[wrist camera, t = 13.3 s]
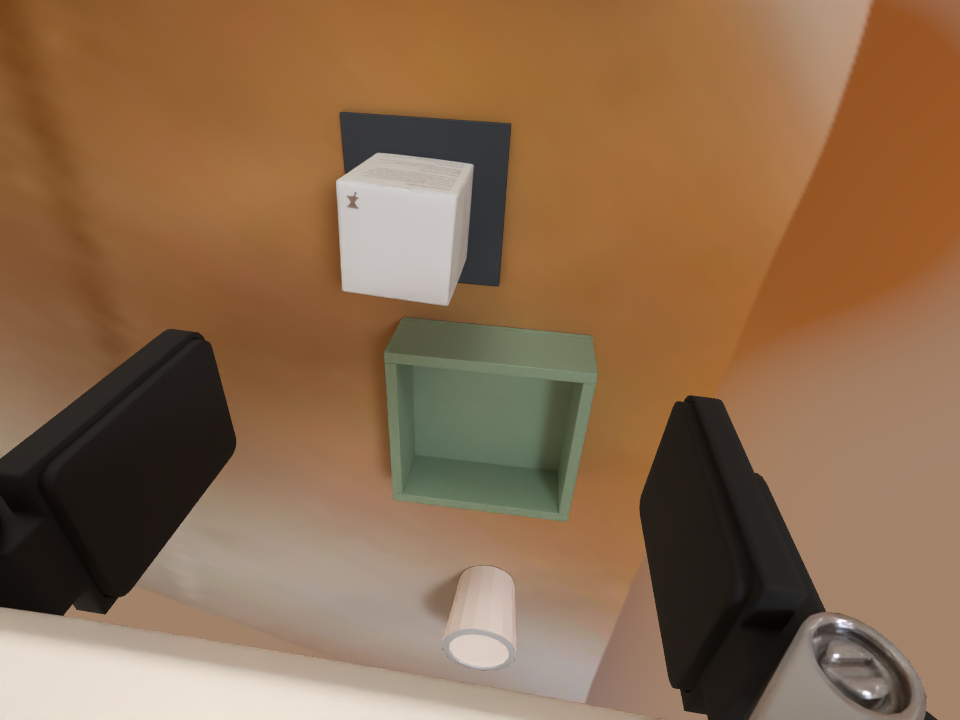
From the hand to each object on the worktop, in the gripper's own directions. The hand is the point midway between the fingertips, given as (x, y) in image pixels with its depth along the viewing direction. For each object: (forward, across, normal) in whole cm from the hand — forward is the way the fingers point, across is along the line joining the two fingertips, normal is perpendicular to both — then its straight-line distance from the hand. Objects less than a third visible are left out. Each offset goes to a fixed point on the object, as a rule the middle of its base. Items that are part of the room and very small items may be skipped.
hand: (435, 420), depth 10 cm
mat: (+24, +5, +3) cm, 25 cm away
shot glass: (+23, -2, +41) cm, 47 cm away
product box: (+24, +5, +3) cm, 24 cm away
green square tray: (+24, 0, +18) cm, 30 cm away
